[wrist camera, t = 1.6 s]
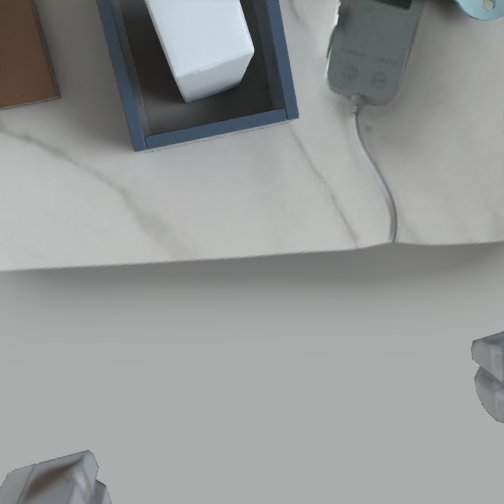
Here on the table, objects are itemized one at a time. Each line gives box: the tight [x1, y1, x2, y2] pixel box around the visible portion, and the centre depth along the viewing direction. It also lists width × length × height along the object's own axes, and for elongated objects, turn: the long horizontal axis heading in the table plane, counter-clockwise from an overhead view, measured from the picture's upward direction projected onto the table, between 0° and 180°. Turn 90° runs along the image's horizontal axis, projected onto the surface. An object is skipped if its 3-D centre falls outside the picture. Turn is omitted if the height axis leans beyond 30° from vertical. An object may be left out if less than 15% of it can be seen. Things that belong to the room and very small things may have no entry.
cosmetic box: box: [145, 0, 254, 103], centre depth 27 cm, size 6×4×12 cm
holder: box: [96, 0, 299, 153], centre depth 30 cm, size 11×12×5 cm
